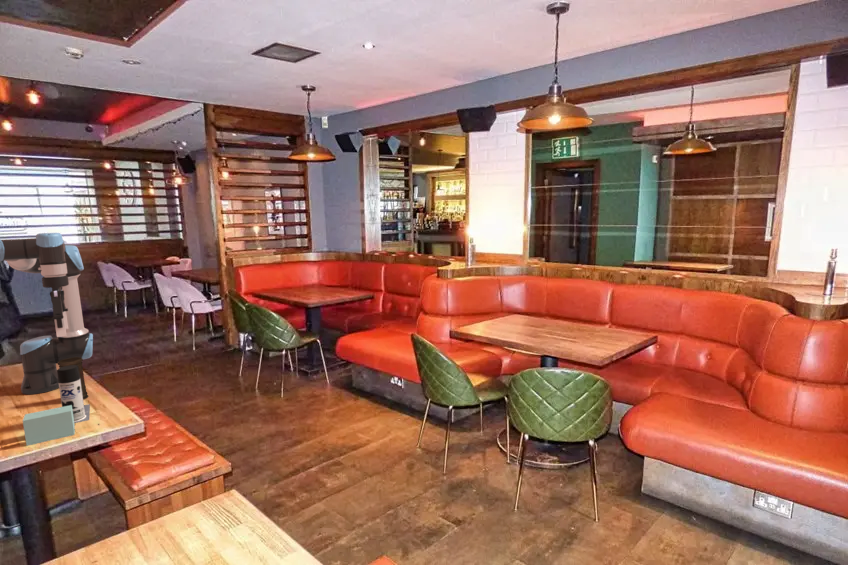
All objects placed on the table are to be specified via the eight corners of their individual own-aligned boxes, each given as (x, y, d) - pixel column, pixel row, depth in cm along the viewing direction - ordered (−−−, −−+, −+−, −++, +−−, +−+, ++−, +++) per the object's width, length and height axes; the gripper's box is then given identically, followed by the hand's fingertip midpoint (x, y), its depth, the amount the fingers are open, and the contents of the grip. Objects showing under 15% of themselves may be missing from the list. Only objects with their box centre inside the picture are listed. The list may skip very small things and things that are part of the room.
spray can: (60, 423, 176) (53, 371, 173) (68, 415, 183) (61, 365, 180) (81, 420, 178) (74, 369, 175) (88, 413, 184) (81, 363, 182)
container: (75, 405, 195) (69, 363, 192) (57, 404, 197) (51, 362, 194) (94, 397, 204) (88, 357, 201) (76, 396, 206) (71, 356, 203)
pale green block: (28, 438, 167) (25, 414, 166) (75, 428, 175) (71, 404, 173) (26, 445, 162) (22, 420, 160) (74, 434, 169) (70, 411, 168)
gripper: (44, 273, 180) (52, 327, 183) (38, 280, 160) (47, 341, 163) (69, 271, 184) (76, 324, 187) (65, 278, 164) (74, 337, 167)
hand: (62, 332), depth 175 cm, fingers open, 13 cm apart
